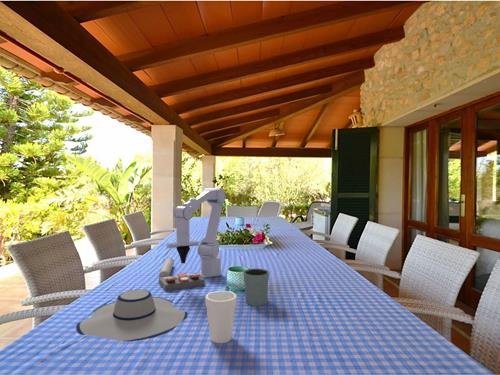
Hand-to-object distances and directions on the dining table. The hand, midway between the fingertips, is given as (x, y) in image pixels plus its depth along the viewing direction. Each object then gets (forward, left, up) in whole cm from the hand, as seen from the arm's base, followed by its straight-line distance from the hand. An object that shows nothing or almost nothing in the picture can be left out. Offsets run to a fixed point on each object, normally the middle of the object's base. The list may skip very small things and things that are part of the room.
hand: (183, 262), depth 154 cm
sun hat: (+25, +26, -11) cm, 38 cm away
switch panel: (0, -2, -10) cm, 11 cm away
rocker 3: (-6, 0, -7) cm, 9 cm away
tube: (+2, -24, -11) cm, 26 cm away
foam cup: (+4, +54, -11) cm, 56 cm away
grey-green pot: (-20, +32, -11) cm, 40 cm away
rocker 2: (0, 0, -7) cm, 7 cm away
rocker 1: (+5, 0, -7) cm, 9 cm away
